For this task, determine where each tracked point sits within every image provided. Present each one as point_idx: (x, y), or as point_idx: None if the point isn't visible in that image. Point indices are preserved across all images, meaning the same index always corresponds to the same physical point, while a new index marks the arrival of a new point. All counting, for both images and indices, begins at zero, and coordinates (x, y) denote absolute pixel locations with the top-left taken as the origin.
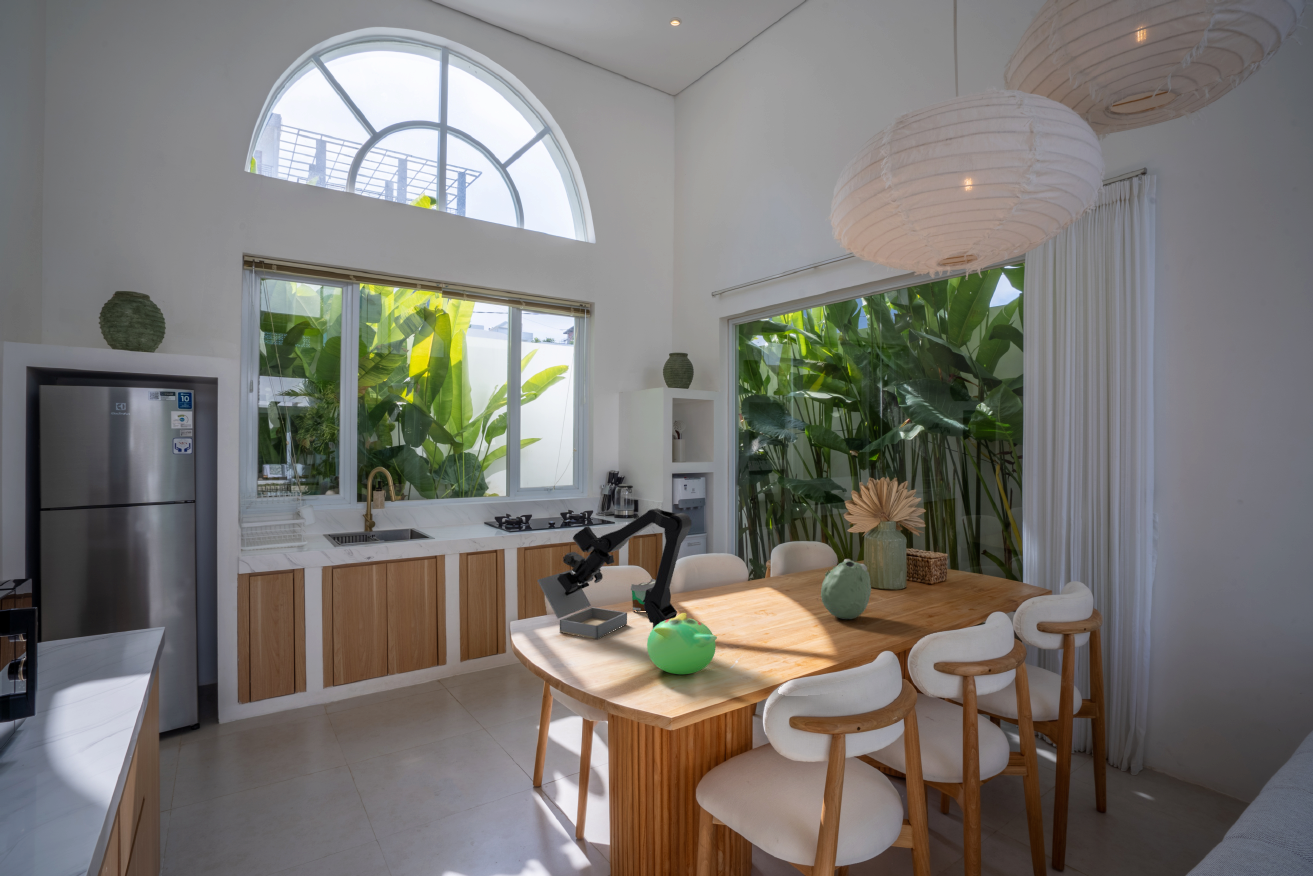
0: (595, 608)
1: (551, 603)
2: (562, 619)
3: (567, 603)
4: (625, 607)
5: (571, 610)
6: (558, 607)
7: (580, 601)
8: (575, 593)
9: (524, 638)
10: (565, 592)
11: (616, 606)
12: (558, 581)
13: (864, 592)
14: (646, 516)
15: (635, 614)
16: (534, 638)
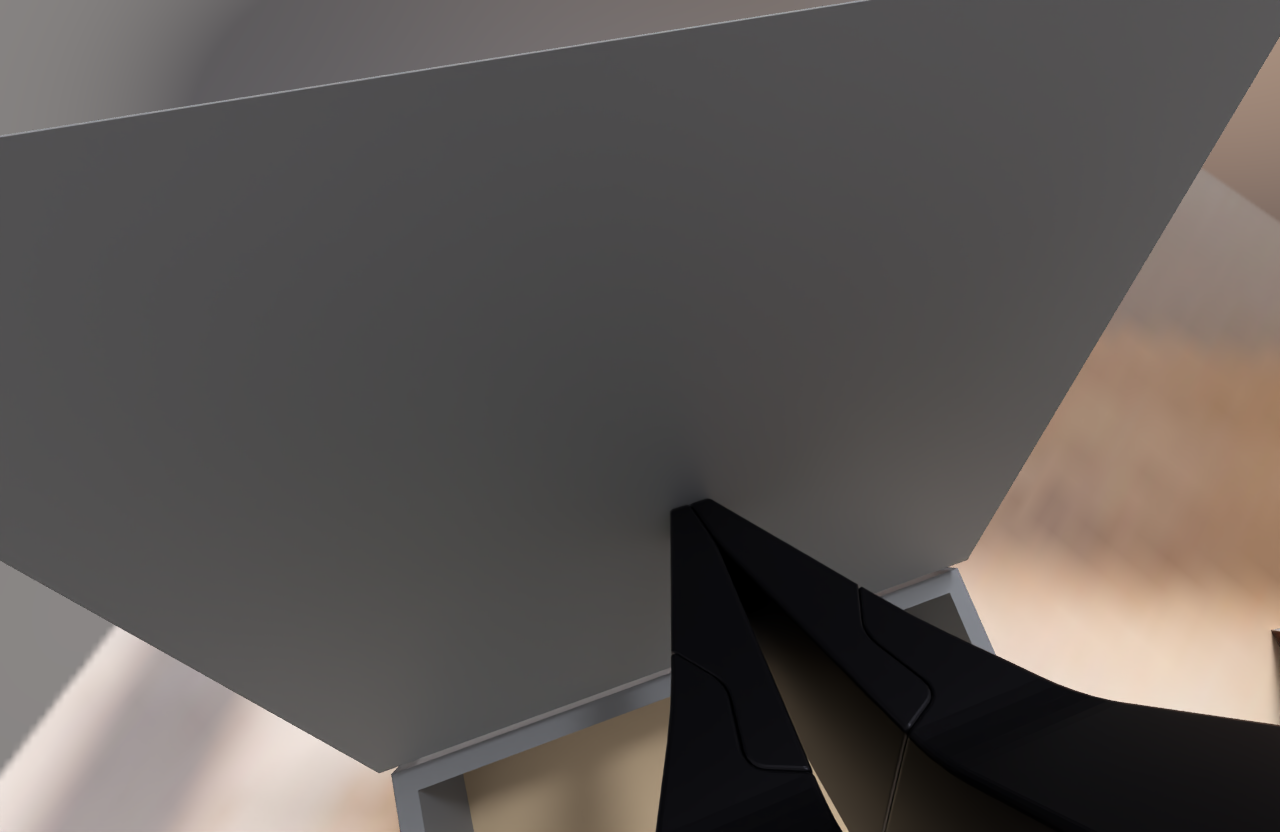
0: (966, 632)
1: (251, 701)
2: (426, 779)
3: (625, 620)
4: (1264, 479)
5: (641, 666)
6: (411, 700)
7: (866, 554)
8: (882, 481)
9: (123, 641)
10: (672, 527)
11: (1213, 409)
12: (643, 295)
13: None
14: None
15: (1260, 713)
16: (175, 706)
